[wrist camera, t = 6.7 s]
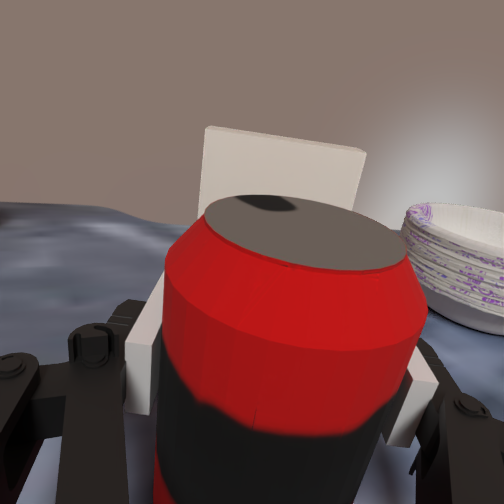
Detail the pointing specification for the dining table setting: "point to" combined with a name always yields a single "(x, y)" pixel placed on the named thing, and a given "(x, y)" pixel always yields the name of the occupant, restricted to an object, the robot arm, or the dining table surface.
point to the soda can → (280, 352)
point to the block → (277, 168)
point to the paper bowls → (459, 261)
